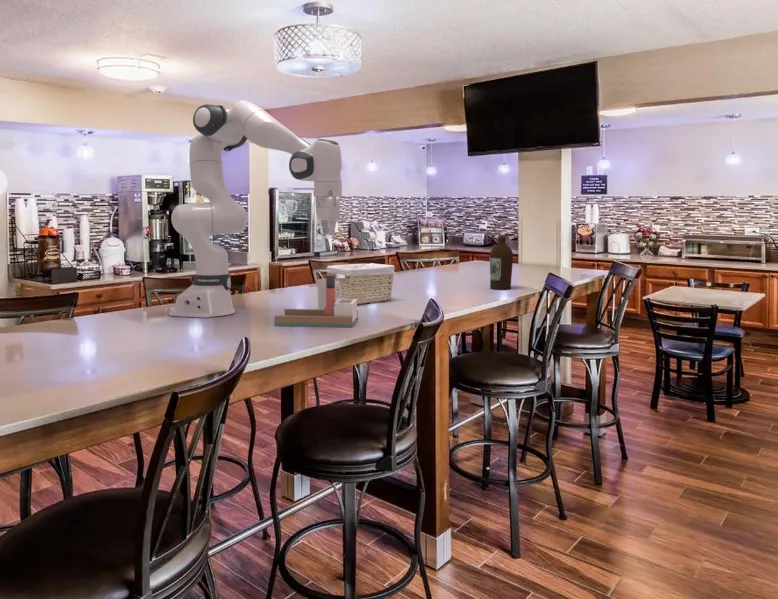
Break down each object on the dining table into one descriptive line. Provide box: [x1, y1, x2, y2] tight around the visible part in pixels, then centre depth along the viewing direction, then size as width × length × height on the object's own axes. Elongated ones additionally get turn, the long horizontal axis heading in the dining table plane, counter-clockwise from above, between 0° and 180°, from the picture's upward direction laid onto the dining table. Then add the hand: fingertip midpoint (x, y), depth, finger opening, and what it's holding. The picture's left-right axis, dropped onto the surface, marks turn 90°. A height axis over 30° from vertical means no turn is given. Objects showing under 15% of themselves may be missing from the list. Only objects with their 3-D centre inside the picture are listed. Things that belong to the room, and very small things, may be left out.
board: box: [274, 299, 359, 328], centre depth 206 cm, size 25×14×7 cm, turn 85°
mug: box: [316, 278, 342, 309], centre depth 225 cm, size 10×7×12 cm, turn 134°
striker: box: [324, 274, 335, 316], centre depth 205 cm, size 3×7×14 cm, turn 175°
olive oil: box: [489, 234, 514, 291], centre depth 289 cm, size 11×11×25 cm
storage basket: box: [326, 262, 395, 305], centre depth 251 cm, size 24×16×15 cm
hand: (328, 234), depth 203 cm, fingers open, 8 cm apart
